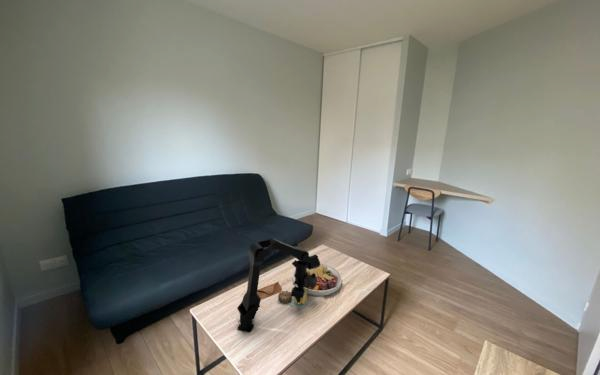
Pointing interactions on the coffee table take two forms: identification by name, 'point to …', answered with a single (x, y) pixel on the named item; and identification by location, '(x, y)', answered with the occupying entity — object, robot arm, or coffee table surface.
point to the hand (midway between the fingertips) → (300, 298)
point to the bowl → (323, 280)
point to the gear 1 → (284, 297)
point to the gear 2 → (302, 298)
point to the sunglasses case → (269, 290)
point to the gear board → (295, 303)
